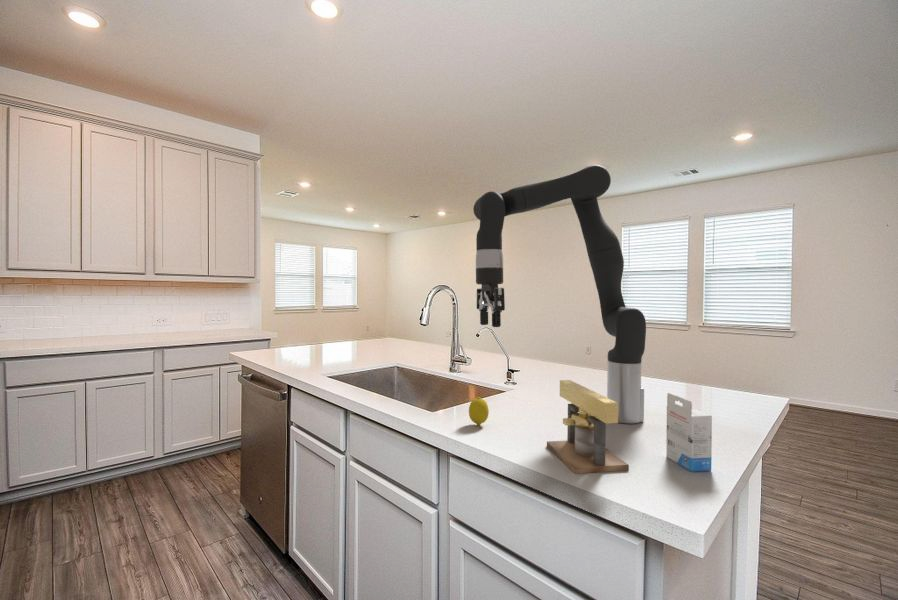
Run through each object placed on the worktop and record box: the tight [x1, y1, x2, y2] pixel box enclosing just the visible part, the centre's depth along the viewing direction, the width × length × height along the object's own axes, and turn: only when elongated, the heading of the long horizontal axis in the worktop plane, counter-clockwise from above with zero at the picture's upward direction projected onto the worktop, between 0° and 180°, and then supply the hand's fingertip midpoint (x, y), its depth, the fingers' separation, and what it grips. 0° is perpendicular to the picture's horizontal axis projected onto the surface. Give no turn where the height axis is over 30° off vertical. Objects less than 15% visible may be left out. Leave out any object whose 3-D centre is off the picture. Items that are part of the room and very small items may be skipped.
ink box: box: [665, 392, 713, 472], centre depth 88 cm, size 9×5×15 cm, turn 5°
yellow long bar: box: [559, 379, 619, 429], centre depth 91 cm, size 10×22×8 cm, turn 8°
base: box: [546, 403, 630, 475], centre depth 91 cm, size 12×15×10 cm
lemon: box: [468, 396, 490, 426], centre depth 113 cm, size 6×6×8 cm
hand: (490, 325), depth 111 cm, fingers open, 8 cm apart
